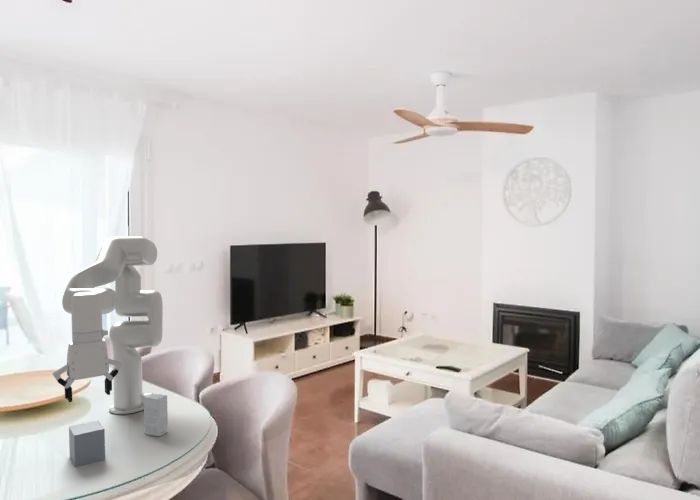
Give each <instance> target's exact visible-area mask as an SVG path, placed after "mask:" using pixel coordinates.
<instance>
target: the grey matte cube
mask: <svg viewBox="0 0 700 500" xmlns="http://www.w3.org/2000/svg"><path fill="white" fill-rule="evenodd" d="M105 433H106V432H105V427H104V426H103V425H102V423H101V422H100V421H99V420H93V421H89V422H84V423H79V424H75V425H70V426H68V439H69V440H68V441H69V442H68V443H69V445H68V446H69V458H70V461H72V464H73V466H74V467H75V468H76V467H80V466H84V465H88V464H91V463H95V462H99V461H103V460H106V445H105V444H106V442H105V441H106V439H105V438H106V436H105Z"/></svg>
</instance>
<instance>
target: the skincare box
mask: <svg viewBox="0 0 700 500" xmlns="http://www.w3.org/2000/svg"><path fill="white" fill-rule="evenodd" d="M143 416H144V417H143V419H144V421H143V423H144V424H143V425H144V429H143V431H144V435H147V436H156V437H161V436H163V435H165V434H166V433H168V431H169V425H168V424H169V423H168V422H169V421H168V420H169V419H168V418H169V417H168V395H167V394H159V393H153V392H152V393H150V395H148V396H145V397H144V409H143Z"/></svg>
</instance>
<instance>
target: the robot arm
mask: <svg viewBox="0 0 700 500" xmlns="http://www.w3.org/2000/svg"><path fill="white" fill-rule="evenodd" d="M157 257H158V248H157V246H156V244H155V243H154V242H153V241H152V240H150V239H148V238H146V237H143V236H138V235H137V236H133V235H131V236H129V235H128V236H123V235H122V236H119V235H117V236H111V237H108V238H107V239H105V240H104V241H103V243H102V245H101V248H100V249H99V252H98V255H97V257H96V259H95V261H94V263H93V264H91V265H89V266H87V267H86V268H84V269H82V270H80V271H79V272H77V273H76V274H74V275H73V276H72V277H71V278H70V280H69V282H68V284H67V286H66V288H65V290H64V292H63V296H62V298H61V299H62V300H61V305H62V308H63V310H64V311H65V312H66V313H67V314H70V315H71V340H72V341H70V342H68V346H67V347H68V348H67V354H66V355H67V356H66V364H65V365H64V366H62V367H60V368H58V369H57V370H54V371H53V372H52V375H53V377H54V378H55V380H56V381H57V383H58V384H60V386H62V387H63V388H64V399H65V400H67V402H68V403H72V402H73V388H72V384H73V383H74V382H75V381H78V380H80V381H81V380H83V379H89V378H90V379H91V378H96V377H102V376H104V377H105V378H104V393H105V395H108V396H110V395H111V392H112V391H113V403H112V404H110V406H109V407H108V411H109V412H110V413H112V414H114V415H128V414H134V413H138V412H140V411H144V397H145V396H148V395H150V394H151V393H150V392H149V393H144V392H143V360H142V356H141V354H140V352H139V351H138V350H137V348H154V347H158V346H159V345H161V342H162V341H163V318H164V317H163V316H164V315H163V313H164V312H163V309H164V306H163V298H162V295H161V294H162V293H160V292H159V291H157V290H155V289H154V290H153V289H149V290H147V289H146V290H145V289H142V285H141V284H142V277H141V274H140V272H139V271H138V270H137V268H136V267H135V266H151V265H153V264H155V263H156V262H157ZM111 283H115V285H114V286H115V287H114V289H112V288H108V287H100V286H106V285H107V284H111ZM114 310H115V314H116V315H117V316H119V317H125V318H139V317H140V318H142V317H144V318H145V317H146V318H147V319H148V320H122V321H121V320H120V321H117V322H115V323H114V324H112V325H111V327H110V329H109V331H108V329H106V330H104V328H103V315H106V314H110V313H112V312H113V311H114ZM108 335H109V341H110V345H111V351H112V359H111V358H109V354H108V348H107V347H108V346H107V343H106V340H105V338H104V336H108ZM110 365H112V370H111V371H110ZM65 372H66V376H67V377H66V379H64V378H63V377H61V375H62V374H64V373H65Z"/></svg>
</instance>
